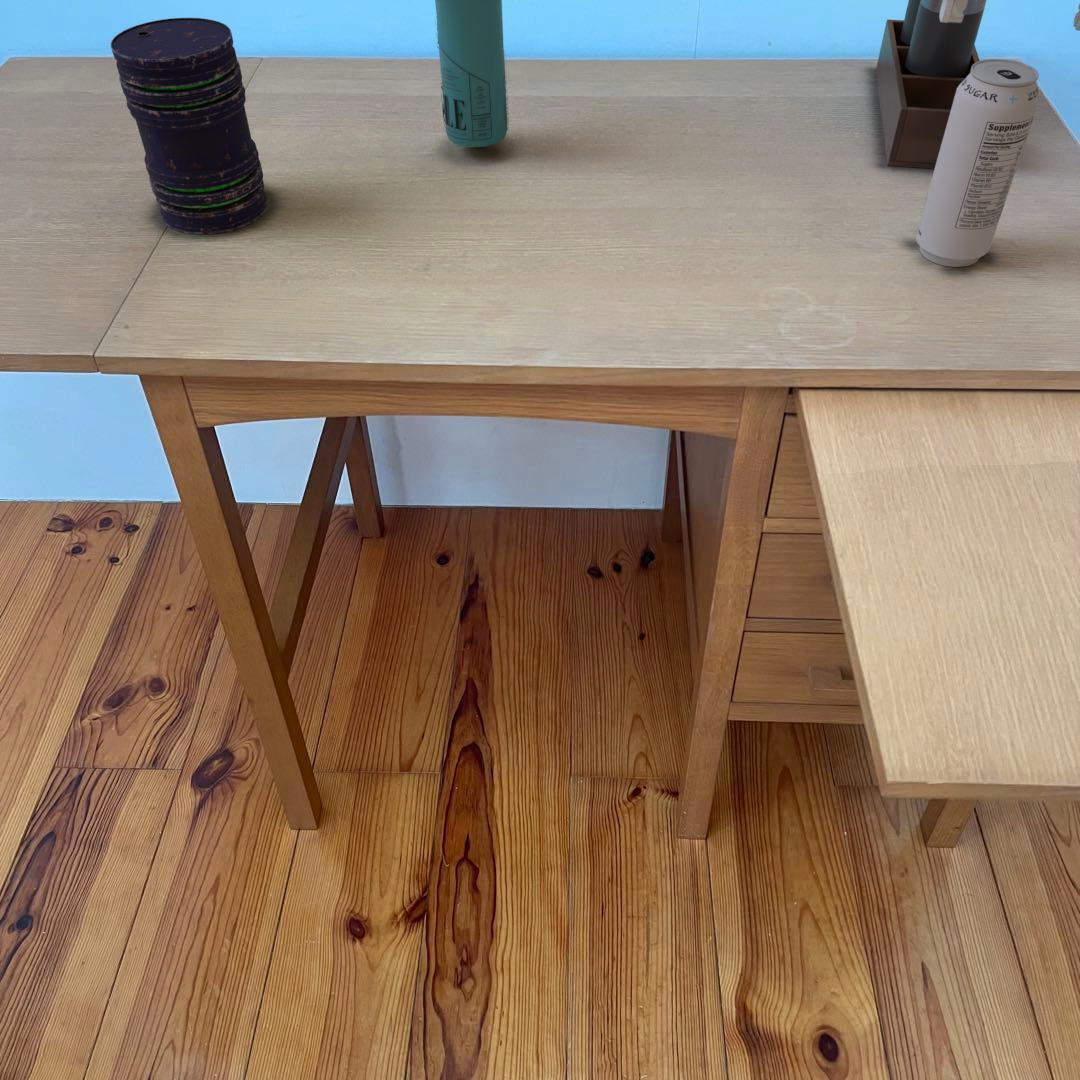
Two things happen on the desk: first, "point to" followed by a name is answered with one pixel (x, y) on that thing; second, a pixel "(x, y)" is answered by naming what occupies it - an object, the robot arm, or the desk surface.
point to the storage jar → (192, 123)
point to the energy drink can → (977, 161)
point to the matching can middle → (943, 41)
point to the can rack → (912, 104)
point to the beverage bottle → (472, 71)
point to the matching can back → (909, 22)
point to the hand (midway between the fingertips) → (1016, 24)
